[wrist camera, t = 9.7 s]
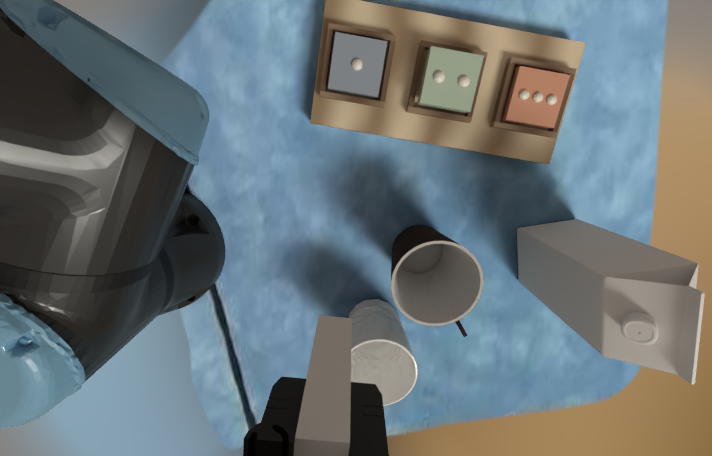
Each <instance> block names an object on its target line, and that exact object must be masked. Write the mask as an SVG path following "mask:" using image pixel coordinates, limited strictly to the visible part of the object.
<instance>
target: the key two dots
mask: <svg viewBox="0 0 712 456" xmlns="http://www.w3.org/2000/svg"><path fill="white" fill-rule="evenodd" d="M483 58H484V56H483V55H477V54H472V53H466V52H461V51H455V50H450V49H445V48H439V47H434V46H431V47H430V48H429V49H428V52H427V57H426V62H425V67H424V72H423V77H422V82H421V87H420V92H419V97H418V102H417V104H418V105H424V106H430V107H435V108H441V109H446V110H452V111H458V112H463V113H467V112H471V108H472V104H473V99H474V95H475V91H476V87H477V83H478V78H479V74H480V70H481V66H482V62H483Z"/></svg>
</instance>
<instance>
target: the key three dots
mask: <svg viewBox="0 0 712 456" xmlns="http://www.w3.org/2000/svg"><path fill="white" fill-rule="evenodd" d="M569 77H570V75H567V74H562V73H556V72H551V71H545V70H540V69H535V68H529V67H524V66H519V67H516V68H514V70H513V74H512V77H511V81H510V85H509V89H508V93H507V96H506V100H505V104H504V108H503V112H502V116H501V119H500V120H501V121H507V122H512V123H518V124H524V125H529V126H535V127H540V128H554V127H555V123H556V120H557V117H558V113H559V110H560V107H561V103H562V100H563V97H564V94H565V90H566V87H567V84H568V80H569Z"/></svg>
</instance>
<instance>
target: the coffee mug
mask: <svg viewBox="0 0 712 456" xmlns="http://www.w3.org/2000/svg"><path fill="white" fill-rule="evenodd" d="M483 281H484V279H483V272H482V269H481V266H480V263H479V262H478V260H477V259H476V257H475V256H474V255H473V254H472V253H471V252H470V251H469V250H468V249H466V248H465V247H463V246H461V245H460V244H458V243H456V242H455V241H453V240H451V239H449V238H448V237H446V236H444V235H443V234H441V233H439V232H437V231H436V230H434V229H432V228H430V227H428V226H423V225H416V226H411V227H409V228H406V229H405V230H403V231H402V232H401V233H400V234H399V235H398V236H397V238H396V239H395V241H394V243H393V248H392V268H391V292H392V297H393V300H394V302H395V304H396V306H397V307H398V309H399V310H400V311H401V313H403V314H404V315H405V316H406V317H407V318H409V319H410V320H412V321H414V322H416V323H419V324H422V325H428V326H442V325H447V324H450V323H453V322H456V324H457V326H458V327H459V329H460V331H461V332H462V334H463V336H464V337H465V336H467V334H466V332H465V330H464V328H463V327H462V325H461V323H460V321H459V319H461V318H463V317H464V316H466V315H467V314H468V313H469V312H470V311H471V310H472V309H473V308H474V306H475V305H476V304H477V302H478V300H479V298H480V296H481V293H482V290H483Z"/></svg>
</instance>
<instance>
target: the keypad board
mask: <svg viewBox="0 0 712 456" xmlns="http://www.w3.org/2000/svg"><path fill="white" fill-rule="evenodd" d="M335 32H339V33H344V34H350V35H355V36H361V37H366V38H372V39H377V40H382V41H388V42H387V48H386V53H385V59H384V65H383V71H382V77H381V83H380V88H379V94H378V98H371V97H366V96H360V95H354V94H349V93H343V92H337V91H332V90H329V89H328V83H329V76H330V68H331V61H332V53H333V46H334V39H335ZM585 45H586V43H584V42H578V41H573V40H568V39H562V38H557V37H552V36H547V35H541V34H536V33H531V32H525V31H520V30H515V29H509V28H504V27H499V26H494V25H488V24H483V23H478V22H472V21H467V20H462V19H456V18H451V17H446V16H440V15H435V14H430V13H425V12H419V11H414V10H409V9H403V8H398V7H393V6H387V5H382V4H377V3H372V2H366V1H361V0H326V1H325V9H324V17H323V25H322V33H321V41H320V49H319V57H318V65H317V73H316V80H315V88H314V96H313V104H312V112H311V120H310V123H312V124H317V125H323V126H329V127H335V128H340V129H346V130H352V131H358V132H364V133H369V134H375V135H381V136H387V137H392V138H398V139H404V140H410V141H416V142H421V143H427V144H433V145H439V146H445V147H450V148H456V149H462V150H468V151H473V152H479V153H485V154H491V155H497V156H502V157H508V158H514V159H520V160H525V161H531V162H537V163H544V164H549V163H550V159H551V156H552V153H553V150H554V146H555V143H556V140H557V136H558V133H559V130H560V127H561V123H562V120H563V117H564V114H565V110H566V107H567V104H568V101H569V97H570V94H571V91H572V88H573V84H574V81H575V78H576V75H577V71H578V68H579V65H580V61H581V58H582V55H583V52H584V48H585ZM431 46H434V47H439V48H445V49H450V50H455V51H461V52H466V53H472V54H477V55H483V56H484V58H483V62H482V66H481V70H480V74H479V78H478V83H477V87H476V91H475V95H474V99H473V104H472V108H471V112H467V113H463V112H458V111H452V110H446V109H441V108H435V107H430V106H424V105H418V104H417V102H418V97H419V92H420V87H421V82H422V77H423V72H424V67H425V62H426V57H427V52H428V49H429V48H430V47H431ZM519 66H524V67H529V68H535V69H540V70H545V71H551V72H556V73H562V74H567V75H570V77H569V80H568V84H567V87H566V90H565V94H564V97H563V100H562V103H561V107H560V110H559V113H558V117H557V120H556V123H555V127H554V128H540V127H535V126H529V125H524V124H518V123H512V122H507V121H501V120H500V119H501V116H502V112H503V108H504V104H505V100H506V96H507V93H508V89H509V85H510V81H511V77H512V74H513V70H514V68H516V67H519Z"/></svg>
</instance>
